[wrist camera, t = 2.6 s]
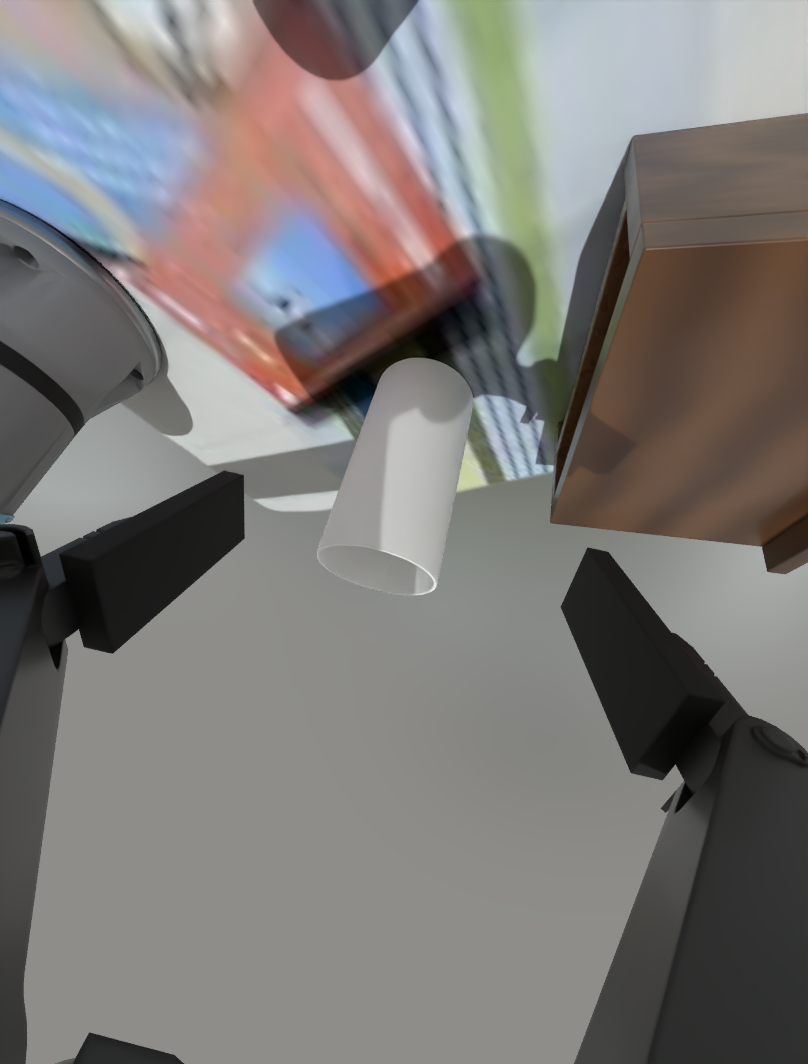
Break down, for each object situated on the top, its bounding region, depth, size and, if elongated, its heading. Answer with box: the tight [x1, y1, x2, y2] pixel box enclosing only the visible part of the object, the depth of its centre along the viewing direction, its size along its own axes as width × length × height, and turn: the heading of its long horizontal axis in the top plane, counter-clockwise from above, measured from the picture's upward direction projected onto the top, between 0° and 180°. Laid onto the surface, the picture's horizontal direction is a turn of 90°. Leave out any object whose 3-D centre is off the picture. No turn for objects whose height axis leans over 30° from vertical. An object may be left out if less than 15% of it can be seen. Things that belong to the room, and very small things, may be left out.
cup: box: [317, 358, 473, 595], centre depth 28 cm, size 8×8×16 cm
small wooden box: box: [550, 113, 808, 574], centre depth 20 cm, size 14×18×11 cm
